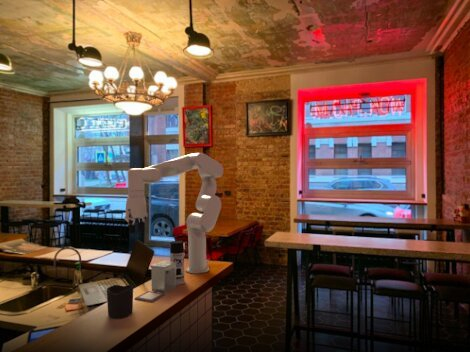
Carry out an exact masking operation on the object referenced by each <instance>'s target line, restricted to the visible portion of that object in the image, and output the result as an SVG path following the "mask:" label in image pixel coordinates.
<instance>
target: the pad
mask: <svg viewBox="0 0 470 352" xmlns="http://www.w3.org/2000/svg"><path fill="white" fill-rule="evenodd" d="M165 296H166V293H165V294H164V293H158V292H152V290H149V291H146V292H144V293H141V294H140V295H137V296H136V297H134V300H136V301H141V302H142V301H143V302H146V301H147V302H146V303H154V302H155V301H158V300H159V299H161V298H163V297H165Z"/></svg>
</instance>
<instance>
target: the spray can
mask: <svg viewBox="0 0 470 352" xmlns="http://www.w3.org/2000/svg"><path fill="white" fill-rule="evenodd" d="M169 248H170V249H169V252H170V253H169V254H170V255H169V256H170V258H169V259H170V260H169V261H173V262H177V264H176V286H179V285H183V284H185V247H184V241H182V240H172V241H170V247H169Z"/></svg>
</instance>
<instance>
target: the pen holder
mask: <svg viewBox="0 0 470 352" xmlns="http://www.w3.org/2000/svg"><path fill="white" fill-rule="evenodd" d="M106 296H107V297H106V298H107V299H106V300H107V301H106V302H107V314H108V317H109V318H110V319H115V320H120V319H125V318H127V317H130V316H131V315H132V314H133V309H134V308H133V306H134V305H133V304H134V285H133V284H127V285H120V284H119V285H118V284H114V285H111V286H109V287H107V288H106Z"/></svg>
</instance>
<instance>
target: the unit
mask: <svg viewBox="0 0 470 352" xmlns="http://www.w3.org/2000/svg"><path fill="white" fill-rule="evenodd" d="M176 264H177V262H173V261H170V260H165V259H164V260H162V261H161V260H160V261H158V262H155V263H153V264H150V268H151V269H150V270H151V272H150V273H151V292H152V291H154V292H157V293H158V292H159V293H163V294H165V295H166V294H167V293H168V292H170V291H171V290H174V289H176V288H177V285H176Z"/></svg>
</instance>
